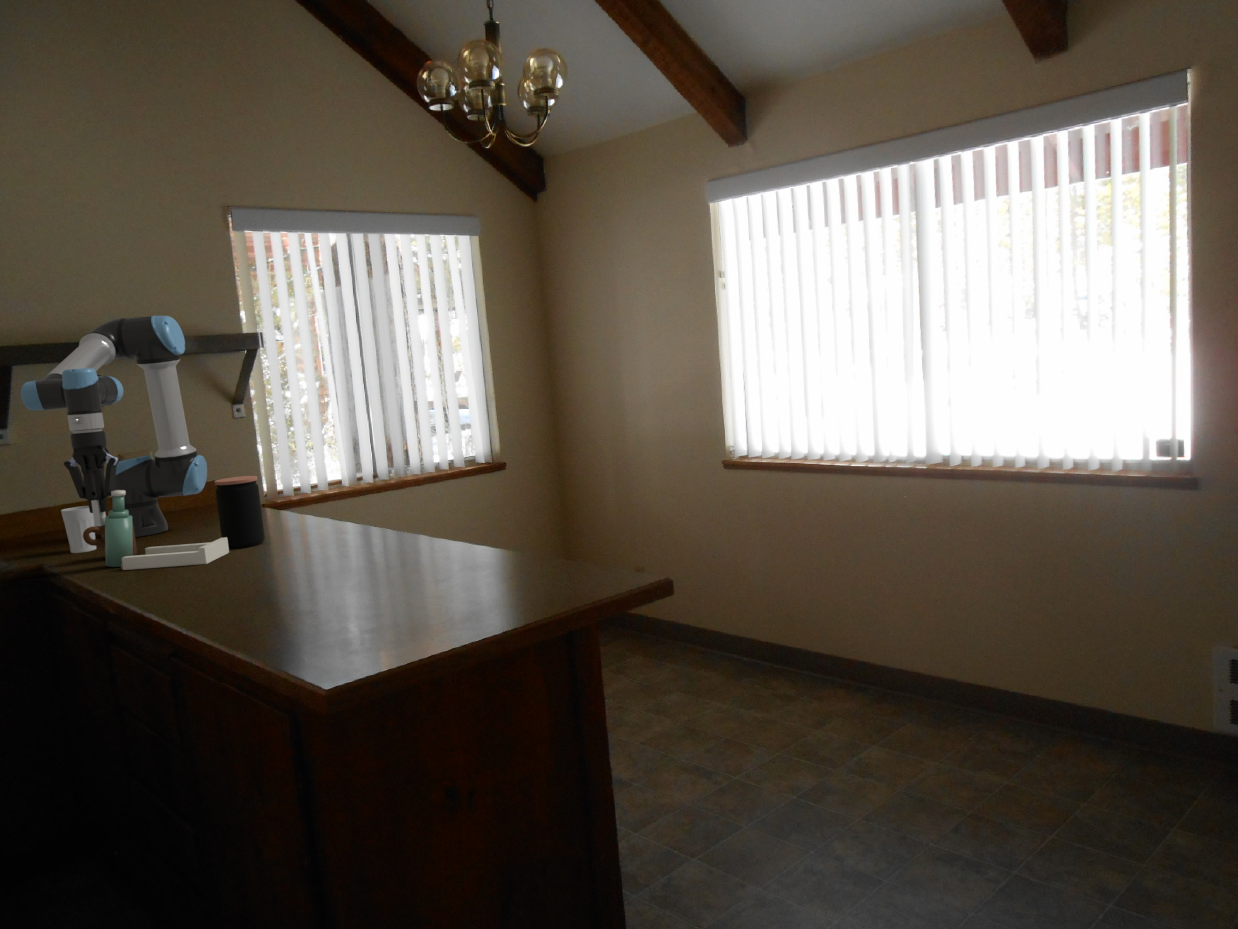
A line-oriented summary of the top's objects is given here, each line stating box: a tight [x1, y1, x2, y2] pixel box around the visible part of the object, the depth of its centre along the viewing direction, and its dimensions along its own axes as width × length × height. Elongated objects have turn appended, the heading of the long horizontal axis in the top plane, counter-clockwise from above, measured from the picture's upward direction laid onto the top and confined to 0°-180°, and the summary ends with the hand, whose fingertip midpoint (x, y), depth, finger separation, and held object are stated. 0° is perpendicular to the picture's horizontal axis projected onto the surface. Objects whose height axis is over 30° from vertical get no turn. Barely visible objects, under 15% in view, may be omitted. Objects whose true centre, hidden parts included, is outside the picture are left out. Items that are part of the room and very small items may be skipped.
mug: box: [83, 523, 138, 559], centre depth 243 cm, size 12×8×9 cm, turn 134°
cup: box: [60, 505, 98, 554], centre depth 259 cm, size 8×8×12 cm
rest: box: [120, 537, 230, 571], centre depth 232 cm, size 13×22×4 cm, turn 89°
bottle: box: [105, 490, 133, 568], centre depth 231 cm, size 6×6×18 cm
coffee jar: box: [214, 475, 266, 550], centre depth 247 cm, size 11×11×18 cm
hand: (100, 525), depth 231 cm, fingers closed
